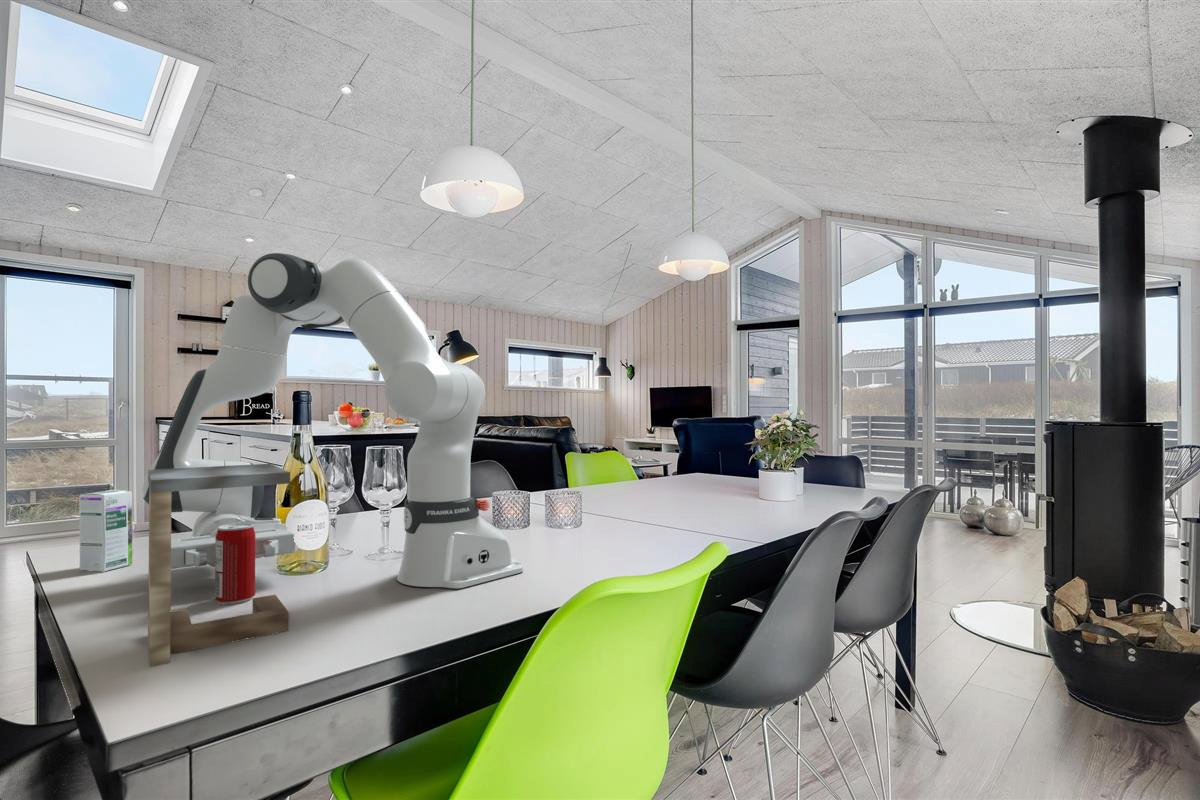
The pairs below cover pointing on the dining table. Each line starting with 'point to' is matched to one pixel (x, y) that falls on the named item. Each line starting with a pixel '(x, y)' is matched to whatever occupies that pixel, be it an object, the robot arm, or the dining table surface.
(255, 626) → the socket
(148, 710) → the dining table surface
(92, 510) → the syrup box
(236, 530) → the soda can
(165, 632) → the wooden c-frame stand
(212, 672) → the dining table surface
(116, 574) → the dining table surface
